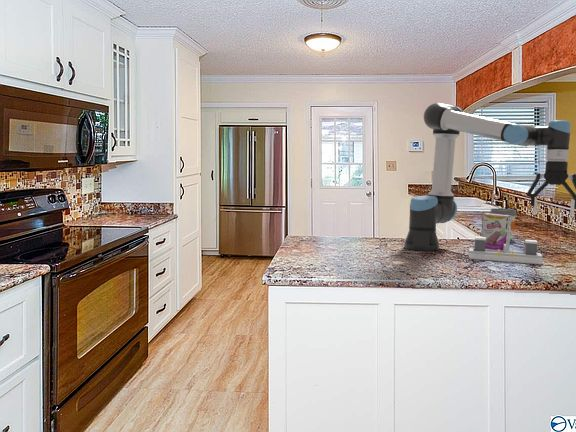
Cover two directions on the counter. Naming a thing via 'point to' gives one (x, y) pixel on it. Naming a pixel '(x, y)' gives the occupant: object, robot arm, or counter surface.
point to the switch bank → (505, 256)
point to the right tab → (530, 247)
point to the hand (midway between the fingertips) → (552, 215)
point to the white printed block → (506, 212)
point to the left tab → (480, 243)
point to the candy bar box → (496, 231)
